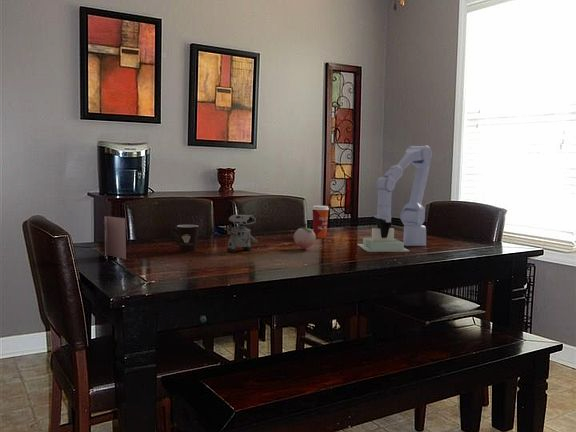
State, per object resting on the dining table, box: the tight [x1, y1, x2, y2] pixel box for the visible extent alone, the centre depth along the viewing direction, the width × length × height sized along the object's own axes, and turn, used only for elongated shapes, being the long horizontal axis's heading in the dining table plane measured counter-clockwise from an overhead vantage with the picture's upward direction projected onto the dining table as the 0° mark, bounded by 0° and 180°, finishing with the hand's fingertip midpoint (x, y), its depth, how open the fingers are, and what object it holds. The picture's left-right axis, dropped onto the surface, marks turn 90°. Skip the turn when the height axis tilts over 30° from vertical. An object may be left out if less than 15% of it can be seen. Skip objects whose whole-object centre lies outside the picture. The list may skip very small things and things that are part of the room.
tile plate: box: [371, 227, 395, 241], centre depth 234 cm, size 9×2×8 cm, turn 96°
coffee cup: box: [311, 205, 330, 239], centre depth 263 cm, size 8×8×15 cm
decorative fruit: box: [293, 227, 317, 250], centre depth 228 cm, size 9×8×10 cm
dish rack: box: [357, 237, 410, 253], centre depth 235 cm, size 18×17×4 cm
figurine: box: [226, 214, 261, 253], centre depth 219 cm, size 9×12×15 cm
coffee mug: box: [167, 224, 200, 253], centre depth 220 cm, size 12×9×10 cm
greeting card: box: [102, 215, 127, 260], centre depth 200 cm, size 11×7×15 cm, turn 22°
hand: (383, 237), depth 234 cm, fingers closed on tile plate, 2 cm apart
